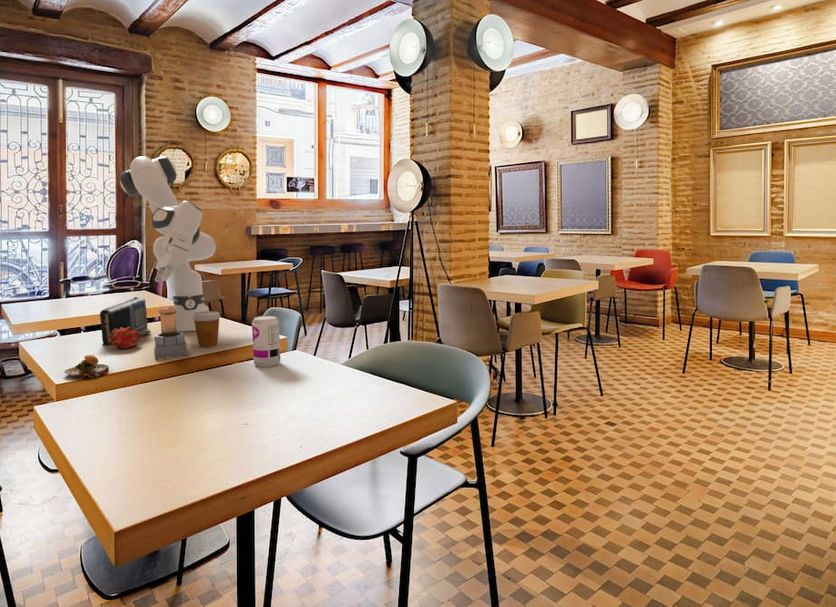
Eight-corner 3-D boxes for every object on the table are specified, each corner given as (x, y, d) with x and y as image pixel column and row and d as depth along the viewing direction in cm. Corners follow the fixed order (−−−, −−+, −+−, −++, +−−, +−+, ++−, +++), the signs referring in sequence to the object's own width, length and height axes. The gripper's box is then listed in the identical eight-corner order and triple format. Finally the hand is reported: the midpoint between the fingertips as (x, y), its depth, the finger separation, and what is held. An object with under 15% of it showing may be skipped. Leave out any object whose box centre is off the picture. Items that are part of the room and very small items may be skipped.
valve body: (187, 356, 199) (186, 335, 198) (155, 359, 195) (153, 338, 194) (184, 346, 213) (182, 327, 212) (153, 349, 209) (152, 330, 208)
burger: (79, 369, 184) (77, 345, 183) (117, 369, 184) (115, 346, 183) (55, 380, 172) (53, 355, 171) (95, 380, 172) (93, 355, 171)
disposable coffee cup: (226, 343, 218) (224, 311, 216) (215, 349, 209) (213, 315, 207) (201, 342, 219) (199, 310, 217) (189, 348, 210) (187, 315, 208)
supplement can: (256, 368, 183) (253, 321, 180) (252, 362, 190) (249, 316, 188) (282, 365, 186) (280, 319, 183) (277, 360, 193) (275, 314, 191)
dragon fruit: (105, 355, 207) (139, 354, 216) (115, 344, 203) (149, 343, 212) (100, 334, 210) (134, 333, 219) (110, 322, 205) (144, 322, 215)
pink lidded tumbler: (161, 342, 202) (158, 307, 200) (178, 340, 204) (175, 306, 202) (161, 345, 197) (159, 309, 195) (179, 343, 200) (176, 308, 198)
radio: (109, 347, 214) (106, 306, 211) (90, 345, 216) (87, 305, 214) (155, 334, 236) (152, 297, 233) (137, 332, 238) (134, 296, 236)
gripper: (160, 243, 215) (145, 278, 212) (174, 238, 199) (158, 275, 195) (177, 251, 219) (162, 285, 215) (192, 246, 202) (176, 283, 199)
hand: (160, 281), depth 205 cm, fingers open, 8 cm apart
